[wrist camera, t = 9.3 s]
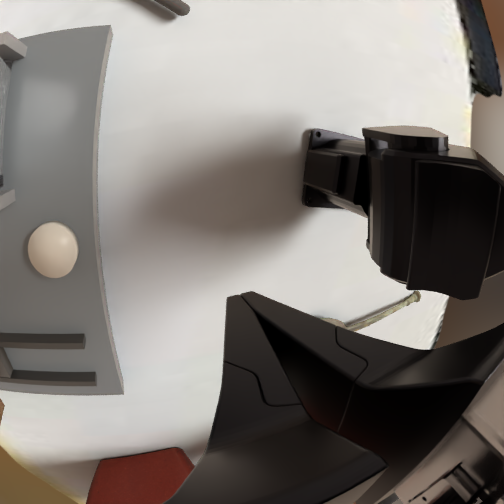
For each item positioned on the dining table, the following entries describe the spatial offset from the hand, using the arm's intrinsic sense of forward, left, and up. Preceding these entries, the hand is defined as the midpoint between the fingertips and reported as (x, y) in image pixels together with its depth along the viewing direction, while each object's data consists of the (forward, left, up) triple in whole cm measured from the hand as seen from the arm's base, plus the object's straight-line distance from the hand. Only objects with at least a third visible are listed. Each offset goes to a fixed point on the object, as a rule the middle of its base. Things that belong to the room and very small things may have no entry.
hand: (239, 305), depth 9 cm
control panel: (+14, +2, -13) cm, 19 cm away
